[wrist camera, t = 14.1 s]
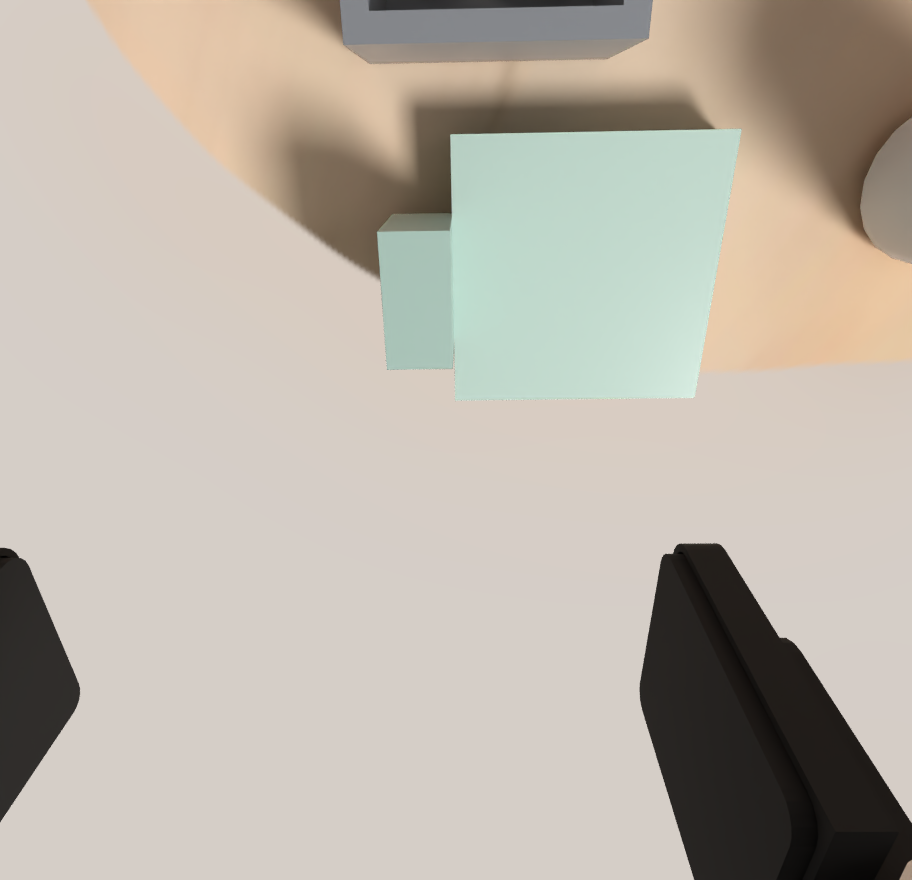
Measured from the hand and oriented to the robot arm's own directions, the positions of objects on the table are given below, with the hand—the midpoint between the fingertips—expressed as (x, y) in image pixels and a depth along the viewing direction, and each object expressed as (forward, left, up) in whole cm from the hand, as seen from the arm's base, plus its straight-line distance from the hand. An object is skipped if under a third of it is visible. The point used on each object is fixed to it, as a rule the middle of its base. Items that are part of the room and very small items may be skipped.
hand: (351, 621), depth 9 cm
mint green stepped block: (0, +6, -26) cm, 27 cm away
